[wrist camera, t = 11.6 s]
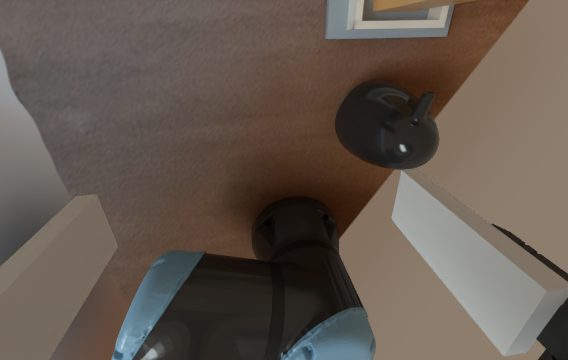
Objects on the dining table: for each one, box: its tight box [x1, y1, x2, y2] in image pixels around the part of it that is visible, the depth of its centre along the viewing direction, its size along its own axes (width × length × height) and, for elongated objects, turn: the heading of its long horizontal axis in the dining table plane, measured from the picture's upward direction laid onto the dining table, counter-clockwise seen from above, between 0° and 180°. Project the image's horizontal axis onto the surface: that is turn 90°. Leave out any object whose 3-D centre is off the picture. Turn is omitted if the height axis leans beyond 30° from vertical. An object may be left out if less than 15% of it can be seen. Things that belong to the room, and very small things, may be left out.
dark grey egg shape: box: [335, 79, 439, 170], centre depth 32 cm, size 10×10×15 cm
